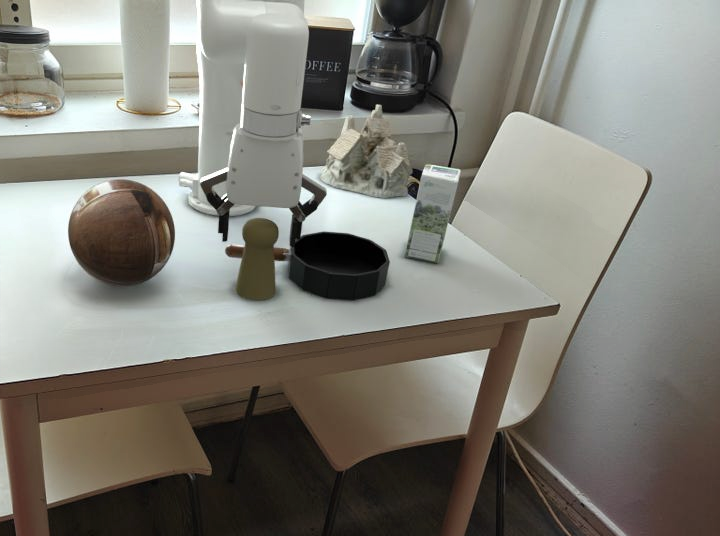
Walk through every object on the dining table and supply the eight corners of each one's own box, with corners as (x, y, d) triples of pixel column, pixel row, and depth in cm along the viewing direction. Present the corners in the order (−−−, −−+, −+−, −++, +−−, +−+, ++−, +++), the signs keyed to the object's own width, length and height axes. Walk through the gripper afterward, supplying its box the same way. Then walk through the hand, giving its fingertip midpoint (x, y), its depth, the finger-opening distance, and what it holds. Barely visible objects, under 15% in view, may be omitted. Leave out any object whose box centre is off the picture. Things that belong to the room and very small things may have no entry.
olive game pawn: (272, 303, 103) (279, 232, 97) (231, 297, 104) (235, 226, 97) (278, 284, 108) (286, 216, 102) (239, 278, 108) (244, 210, 102)
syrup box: (441, 250, 122) (461, 167, 113) (438, 264, 117) (458, 179, 109) (408, 244, 123) (425, 161, 115) (403, 258, 118) (421, 173, 110)
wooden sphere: (54, 271, 106) (45, 174, 98) (141, 250, 114) (139, 158, 106) (102, 315, 97) (97, 212, 89) (193, 288, 105) (197, 191, 96)
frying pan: (221, 290, 105) (222, 265, 103) (226, 247, 117) (227, 224, 115) (390, 303, 105) (395, 278, 103) (377, 258, 117) (381, 235, 115)
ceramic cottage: (313, 170, 150) (327, 98, 141) (384, 171, 154) (402, 102, 145) (338, 203, 139) (354, 127, 129) (414, 203, 143) (435, 130, 134)
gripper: (334, 117, 95) (317, 233, 105) (205, 106, 95) (200, 224, 105) (338, 135, 89) (320, 257, 99) (200, 124, 89) (196, 247, 99)
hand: (258, 240), depth 102 cm, fingers open, 9 cm apart
